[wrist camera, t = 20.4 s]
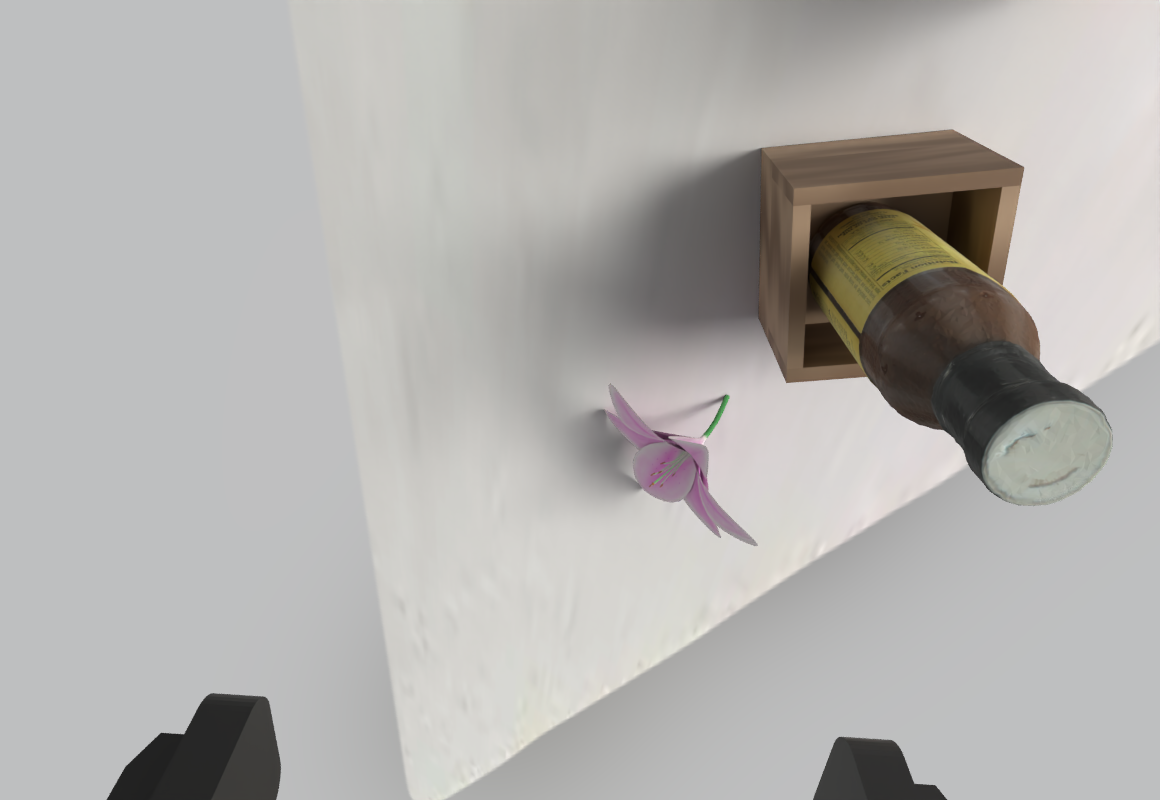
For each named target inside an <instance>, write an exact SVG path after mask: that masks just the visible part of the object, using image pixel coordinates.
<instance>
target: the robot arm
mask: <svg viewBox="0 0 1160 800" xmlns="http://www.w3.org/2000/svg"><path fill="white" fill-rule="evenodd" d="M280 765H281V764H280V757H279V752H278V747H277V741H276V736H275V731H274V726H273V721H272V715H271V710H270V705H269V701H268V699H267V698H266V697H261V696H245V695H230V694H214V693H213V694H209V695H208V696H206V698H205V699H204V700H203V701H202V702H201V704H200V706H199V707H198V709H197V711H196V713H195V715H194V717H193V719H192V721H191V723H190V724H189V726H188V728H187V730H186V732H185V734H169V733H160V734H159V735H158V736H157V737H156V738H155V739H154V740H153V741H152V742H151V743H150V744H149V745H148V746H147V747H146V748H145V749H144V750H143V751H142V752H141V753H140V754H138V756H136V757H135V758H134V759H133V760H132V761H131V762H130V763H129V764H128V765H127V766H126V767H125V769H124V770H123V772H122V774H121V776H120V777H119V779H118V781H117V783H116V785H115V786H114V788H113V790H112V792H111V793H110V795H109V797H108V798H107V800H276V798H277V794H278V789H279V782H280V773H281V766H280ZM813 800H947V799H946V798H945V797H944V795H943V794H942V793H941V792H940V790H939V789H938V788H937V787H936V786H935V785H923V784H914V782H913V780H912V777H911V774H910V771H909V769H908V766H907V763H906V761H905V758H904V756H903V754H902V751H901V749H900V748H899V746H898V745H897V744H896V743H895V742H894V741H892V740H881V739H866V738H851V737H839V738H837V739H836V741H835V743H834V745H833V748H832V750H831V753H830V756H829V758H828V761H827V763H826V766H825V769H824V771H823V774H822V777H821V780H820V782H819V785H818V788H817V790H816V793H815V796H814V799H813Z"/></svg>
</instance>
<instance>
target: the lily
mask: <svg viewBox="0 0 1160 800" xmlns="http://www.w3.org/2000/svg"><path fill="white" fill-rule="evenodd" d="M609 392H610V396H611V399H612V403H613V405H614V408H615V410H616V412H617V414H618V416H619V417H617V416H615V415H613V414H611V413H610V412H608V411H606V410H605V412H606V415H607V416H608V418H609V419H610V420H611V422H612V423H613V424H614V425H615V426H616V428H617V429H618V430H619V431H620V432H621V433H622V434H623V435H624V436H625V437H626V438H627V440H628V441H629V442H631V443H632V444H633V445H634V446H635V447H636V448H637V449H638V450H639V451H638V452H637V453H636V455H635V457H634V460H633V469H634V475H635V478H636V480H637V482H638V484H639V485H640V486H641V487H642V489H643V490H644V491H646V492H647V493H649V494H650V495H652V496H654V497H655V498H658V499H660V500H663V501H667V502H677V501H680V500H682V499H684V501H685V502H686V503H687V505H688V506H689V507H690V509H691V510H692V511H693V512H694V513H695V515H696V516H697V517H698V518H699V519H700V520H701V521H702V522H703V523H704V524H705V525H706V526H707V527H708V528H709V529H710V530H711V531H712V532H713V533H714V534H715V535H717V536H718V537H720V538H721V536H720V534H719V531H718V528H717V526H718V527H720V528H721V529H722V530H723V531H725V532H727V533H728V534H730V535H732V536H733V537H735V538H737V539H739V540H741V541H743V542H746V543H748V544H751V545H754V546H757V543H756V542H755V541H754V540H753V539H752V538H751V537H750V536H749V535H748V534H747V533H746V532H745V531H744V530H743V529H742V528H741V527H740V526H739V525H738V524H737V523H736V522H735V521H734V520H733V519H732V518H731V517H730V516H729V515H728V514H727V513H726V512H725V511H724V510H723V509H722V508H721V507H720V506H719V505H718V503H717V502H716V501H715V500H714V498H713V497H712V496H711V495H710V493H709V492H708V483H707V473H708V450H707V447H706V446H704V442H705V440H706V439H707V437H708V436H709V435H710V433H711V432H712V431H713V429H714V428H715V426H716V424H717V423H718V421H719V419H720V417H721V415H722V413H723V411H724V409H725V406H726V404H727V402H728V399H729V395H725V397H724V399H723V402H722V404H721V406H720V408H719V411H718V413H717V415H716V417H715V419H714V421H713V422H712V424H711V425H710V427H709V428H708V430H707V431H706V432H705V433H704V434H703V435H702V436H701V437H700V438H691V437H685V436H680V435H674V434H668V433H663V432H658V431H653V430H651V429H649V428H648V427H647V426H646V425H645V424H644V423H643V421H642V420H641V419H640V418H639V417H638V416H637V414H636V413H635V412H634V411H633V410H632V408H631V407H630V406H629V405H628V403H627V402H626V401H625V400H624V398H623V397H622V396H621V395H620V393H619V392H618V391H617V390H616V388H615V387H614V386H613V385H611V384H609Z"/></svg>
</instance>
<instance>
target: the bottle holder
mask: <svg viewBox="0 0 1160 800" xmlns="http://www.w3.org/2000/svg"><path fill="white" fill-rule="evenodd" d="M1023 172H1024V167H1023V166H1021V165H1019V164H1017V163H1015V162H1013V161H1011V160H1009V159H1008V158H1006V157H1004V156H1002V155H1000V154H998V153H996V152H994V151H992V150H990V149H989V148H987V147H985V146H983V145H981V144H979V143H977V142H975V141H973V140H971V139H970V138H968V137H966V136H964V135H962V134H960V133H958V132H956V131H954V130H944V131H934V132H923V133H913V134H903V135H892V136H882V137H872V138H861V139H851V140H841V141H830V142H820V143H810V144H799V145H789V146H778V147H768V148H762V149H761V207H760V266H759V320H760V322H761V325H762V327H763V329H764V332H765V334H766V336H767V339H768V341H769V343H770V346H771V348H772V350H773V353H774V355H775V357H776V360H777V362H778V364H779V367H780V369H781V371H782V374H783V376H784V378H785V381H786V383H791V382H804V381H817V380H830V379H843V378H856V377H867V376H866V375H865V373H864V372H863V370H862V369H861V367H860V366H859V364H858V363H857V361H856V360H855V358H854V357H853V355H852V354H851V352H850V351H849V349H848V348H847V346H846V345H845V343H844V342H843V340H842V339H841V337H840V336H839V334H838V333H837V331H836V330H835V328H834V327H833V326H832V324H831V323H830V321H829V320H828V318H827V317H826V315H825V314H824V313H823V311H822V310H821V308H820V307H819V305H818V304H817V302H816V301H815V299H814V297H813V294H812V291H811V287H810V285H809V283H808V280H807V278H808V258H809V244H810V242H811V240H812V238H813V236H814V235H815V233H816V232H817V230H818V228H819V227H820V226H821V225H822V223H823V222H824V221H825V220H826V219H827V218H829V217H830V216H832V215H835V214H837V213H838V212H840V211H842V210H845V209H847V208H849V207H852V206H856V205H859V204H864V203H869V202H872V203H881V204H886V205H887V206H889V207H892V208H894V209H897V210H899V211H900V212H902V213H905V214H908V215H910V216H911V217H913V218H914V219H916V220H917V221H919V222H920V223H921V224H923V225H924V226H925V227H927V228H928V229H929V230H930V231H932V232H933V233H934V234H936V235H937V236H938V237H939V238H941V239H942V240H943V241H945V242H946V243H947V244H949V245H950V246H951V247H953V248H954V249H955V250H957V251H958V252H959V253H960V254H962V255H963V256H964V257H965V258H967V259H968V260H969V261H971V262H972V263H973V264H975V265H976V266H977V267H978V268H980V269H981V270H982V271H984V272H985V273H986V274H988V275H989V276H990V277H992V278H993V279H996V280H997V282H998V283H1000V284H1001V285H1003V280H1004V275H1005V269H1006V264H1007V258H1008V253H1009V247H1010V242H1011V237H1012V231H1013V226H1014V220H1015V215H1016V210H1017V204H1018V199H1019V193H1020V188H1021V182H1022V177H1023Z"/></svg>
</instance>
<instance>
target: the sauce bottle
mask: <svg viewBox="0 0 1160 800" xmlns="http://www.w3.org/2000/svg"><path fill="white" fill-rule="evenodd" d="M807 280H808V283H809V285H810V287H811V291H812V294H813V297H814V299H815V301H816V302H817V304H818V305H819V307H820V308H821V310H822V311H823V313H824V314H825V315H826V317H827V318H828V320H829V321H830V323H831V324H832V326H833V327H834V328H835V330H836V331H837V333H838V334H839V336H840V337H841V339H842V340H843V342H844V343H845V345H846V346H847V348H848V349H849V351H850V352H851V354H852V355H853V357H854V358H855V360H856V361H857V363H858V364H859V366H860V367H861V369H862V370H863V372H864V373H865V375H866V376H867V377H868V379H869V380H870V381H871V382H872V384H874V385H875V386H876V387H877V388H878V389H879V391H880V392H881V394H882V396H883V397H884V399H885V400H886V401H887V402H888V403H889V404H890V406H891V407H893V408H894V409H895V410H896V411H897V412H898V413H899V414H900V415H902V416H904V417H905V418H907V419H909V420H911V421H913V422H915V423H917V424H919V425H923V426H927V427H929V428H932V429H937V430H944V431H946V432H947V433H948V434H950V435H951V436H952V437H953V438H954V439H955V441H956V442H957V443H958V444H959V445H960V446H961V447H962V449H963V450H964V453H965V457H966V460H967V462H968V465H969V466H970V468H971V470H972V471H973V472H974V473H975V474H976V475H977V476H978V478H979V479H980V480H981V481H982V482H983V483H984V485H985V486H986V488H987V489H988V490H990V492H991V493H993V494H994V495H996V496H997V497H999V498H1001V499H1002V500H1004V501H1006V502H1009V503H1013V504H1017V505H1028V506H1035V505H1048V504H1051V503H1054V502H1057V501H1060V500H1063V499H1065V498H1067V497H1069V496H1071V495H1073V494H1074V493H1076V492H1078V491H1080V490H1081V489H1082V488H1083V487H1084V486H1085V485H1087V484H1088V483H1089V482H1091V481H1092V480H1093V479H1094V478H1095V477H1096V475H1097V474H1098V473H1099V472H1100V471H1101V469H1102V468H1103V467H1104V465H1105V464H1106V463H1107V461H1108V458H1109V456H1110V452H1111V449H1112V441H1113V437H1112V429H1111V427H1110V425H1109V423H1108V422H1107V419H1106V416H1105V414H1104V413H1103V411H1102V410H1101V409H1100V408H1098V407H1097V406H1096V405H1095V404H1094V403H1093V402H1092V401H1091V400H1090V398H1088V397H1087V396H1085V395H1084V394H1083V393H1081V392H1080V391H1079V390H1077V389H1075V388H1073V387H1071V386H1069V385H1068V384H1065V383H1060V382H1059V381H1058V380H1057V379H1056V378H1055V377H1053V376H1052V375H1051V374H1050V373H1049V372H1048V371H1047V370H1046V369H1045V367H1044V366H1043V365H1042V364H1041V362H1040V342H1039V338H1038V331H1037V328H1036V326H1035V323H1034V321H1033V320H1032V317H1031V316H1030V315H1029V313H1028V312H1027V311H1026V310H1025V308H1024V307H1023V306H1022V305H1021V304H1020V303H1019V301H1018V300H1017V299H1016V298H1015V297H1014V296H1013V295H1012V293H1010V292H1009V291H1008V290H1007V289H1006V288H1005V287H1003V286H1002V285H1001V284H1000V283H998V282H997V280H996V279H993V278H992V277H990V276H989V275H988V274H986V273H985V272H984V271H982V270H981V269H980V268H978V267H977V266H976V265H975V264H973V263H972V262H971V261H969V260H968V259H967V258H965V257H964V256H963V255H962V254H960V253H959V252H958V251H957V250H955V249H954V248H953V247H951V246H950V245H949V244H947V243H946V242H945V241H943V240H942V239H941V238H939V237H938V236H937V235H936V234H934V233H933V232H932V231H930V230H929V229H928V228H927V227H925V226H924V225H923V224H921V223H920V222H919V221H917V220H916V219H914V218H913V217H911V216H910V215H908V214H905V213H902V212H900V211H899V210H897V209H894V208H892V207H889V206H887V205H886V204H881V203H872V202H869V203H864V204H859V205H856V206H852V207H849V208H847V209H845V210H842V211H840V212H838V213H837V214H835V215H832V216H830V217H829V218H827V219H826V220H825V221H824V222H823V223H822V225H821V226H820V227H819V228H818V230H817V232H816V233H815V235H814V236H813V238H812V240H811V242H810V244H809V258H808V278H807Z"/></svg>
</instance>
